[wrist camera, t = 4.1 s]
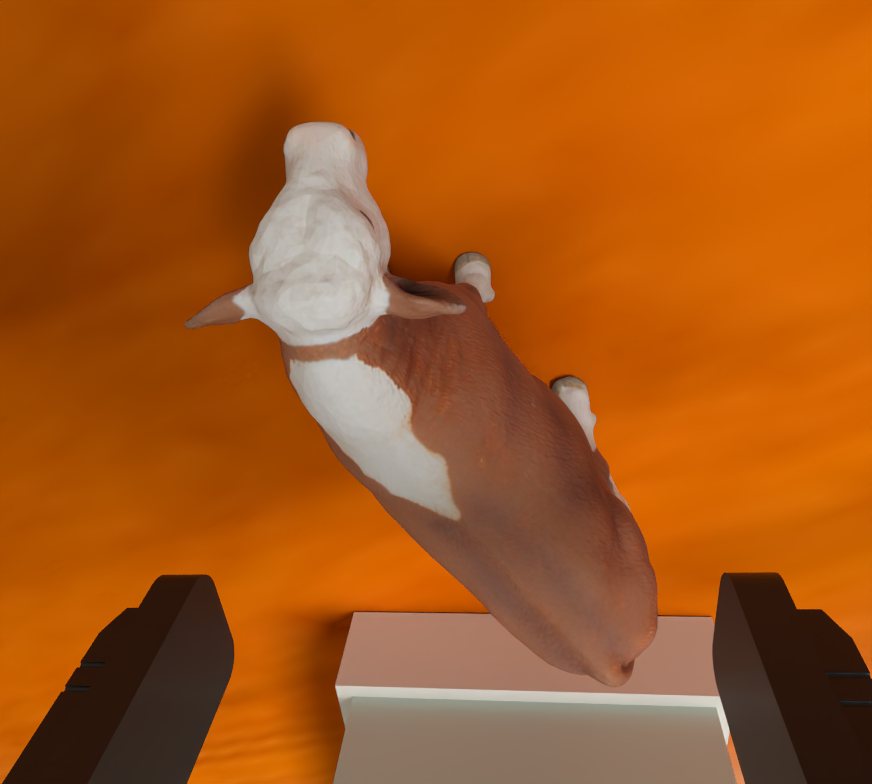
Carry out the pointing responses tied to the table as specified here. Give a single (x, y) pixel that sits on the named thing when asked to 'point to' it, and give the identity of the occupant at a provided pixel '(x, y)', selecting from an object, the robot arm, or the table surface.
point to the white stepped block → (523, 708)
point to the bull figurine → (447, 417)
